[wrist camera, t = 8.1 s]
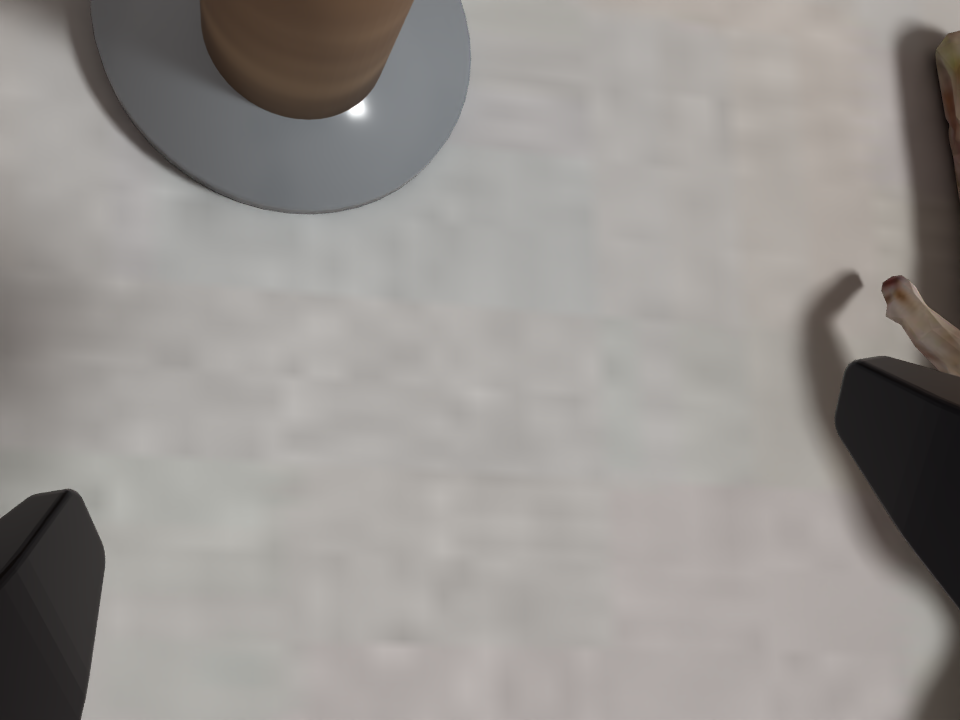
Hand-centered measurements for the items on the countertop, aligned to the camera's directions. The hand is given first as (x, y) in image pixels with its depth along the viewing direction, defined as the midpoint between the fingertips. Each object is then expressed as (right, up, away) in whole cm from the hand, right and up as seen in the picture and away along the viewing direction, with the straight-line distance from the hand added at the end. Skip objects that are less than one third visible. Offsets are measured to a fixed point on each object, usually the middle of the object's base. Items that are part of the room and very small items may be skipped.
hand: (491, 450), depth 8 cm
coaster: (-5, +9, +10) cm, 14 cm away
